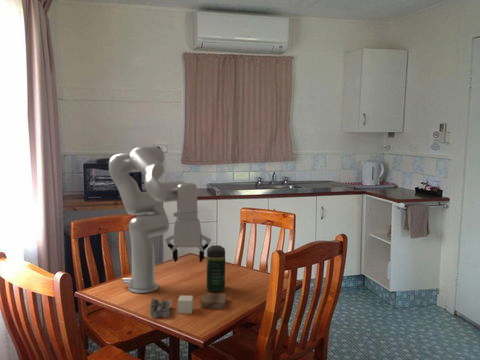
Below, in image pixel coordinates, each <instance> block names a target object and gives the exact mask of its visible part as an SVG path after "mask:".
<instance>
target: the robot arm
mask: <svg viewBox="0 0 480 360" xmlns="http://www.w3.org/2000/svg"><path fill="white" fill-rule="evenodd" d="M164 162H165V153H164V151H163V150H162V149H161V148H160V147H157V146H138V147H135V148H133V149H132V150H131V151H130V152H125V153H124V152H123V153H116V154H114V155H112V156H111V157H110V158H109V161H108V171H109V175H110V177H111V180H112V181H113V183H114V185H116V186H115V187H116V188H117V190H118V193H119V196H120V198H121V201H122V205H123V207H124V209H125V212H126V213H127V214H128V215H130V216H135V217H133V218H132V219H130V221H129V223H128V234H129V238H130V245H131V247H130V249H131V277H129V278H127V277H123V278H122V280H121V281H122V283H123V285H128V288H127V289H128V291H129V292H131V293H134V294H147V293H152V292H155V291H157V290H158V289H159V283H157V282H156V280H155V278H156V277H155V274H156V273H155V272H156V271H155V266H156V265H155V263H156V262H155V247H154V244H153V243H152V241H151V238H153V237H157V236H161V235H164V234H166V233H167V232H168V231H169V230H170V222H169V218H168V215H167V213H166V211H165V210H166V209H165V207H164V205H163V203H169V202H170V203H171V202H176V210H177V211H176V212H173V217H175V218H176V219H175V221H174V226H173V234H172V235H170V236H168V237H167V238H165V240H164V241H165V243H166V244H167V247H168V248H169V249H170V250H171V252H172V260H173V262H174V263H176V262H177V261H178V260H179V256H178V255H179V252H178V249H177V248H198V249H199V252H198V253H199V255H198V258H199V263H202V262H203V260H204V259H205V250H207V249H208V248H209V245H210V244H211V241H212V239H211V238H210V237H207V236H206V235H205V234H202V226H201V221H200V218H199V217H198V187H197V184H196V183H193V182H185V181H180V180H179V181H178V180H177V181H166V182H161V181H159V179H160V178H161V177H162V176H163V175H164V173H165V172H164V171H165V166H164V165H163V163H164ZM129 173H141V175H143V176H144V188H145V191H144V192H143V191H141V189H140V187H139V185H138V182H137V181H136V180H135V178H133V176H131V175H130V174H129ZM172 240H173V243H172V242H171V241H172ZM203 241H205V244H204V245H203V244H202V243H203Z"/></svg>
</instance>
